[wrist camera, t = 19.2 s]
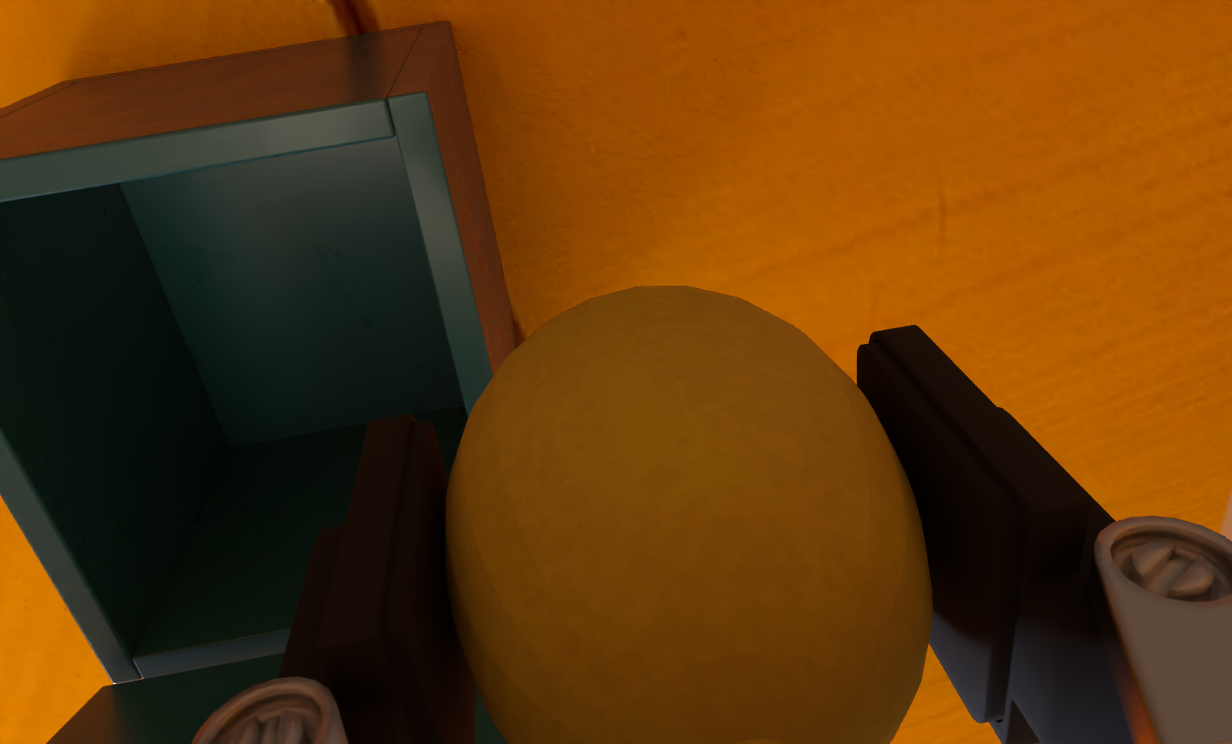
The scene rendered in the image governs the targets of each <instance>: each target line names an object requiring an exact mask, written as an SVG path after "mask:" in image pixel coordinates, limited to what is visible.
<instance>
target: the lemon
mask: <svg viewBox="0 0 1232 744" xmlns="http://www.w3.org/2000/svg"><path fill="white" fill-rule="evenodd" d="M445 573H446V582H447V591H448V597H449V602H450V606H451V611H452V616H453V619H454V623H455V626H456V630H457V633H458V637H459V640H460V643H461V646H462V649H463V651H464V654H465V657H466V660H467V663H468V666H469V669H470V672H471V674H472V677H473V680H474V683H475V685H476V688H477V690H478V693H479V696H480V698H481V701H482V703H483V706H484V707H485V709H486V711H487V713H488V714H489V716H490V718H491V720H492V721H493V723H494V725H495V727H496V728H497V730H498V731H499V732H500V733H501V735H502V736H503V737H504V739H505V740H506V741H507V742H508V744H889V743H890V742H891V741H892V739H893V738H894V736H895V734H896V732H897V730H898V728H899V726H900V724H901V723H902V721H903V719H904V717H905V715H906V713H907V711H908V709H909V707H910V705H911V703H912V701H913V699H914V696H915V694H916V692H917V690H918V687H919V685H920V683H921V679H922V674H923V668H924V663H925V658H926V653H927V648H928V643H929V637H930V631H931V626H932V620H933V597H932V585H931V578H930V572H929V565H928V558H927V552H926V545H925V540H924V534H923V528H922V522H921V518H920V515H919V511H918V507H917V504H916V500H915V496H914V494H913V491H912V488H911V485H910V483H909V480H908V477H907V475H906V472H905V470H904V468H903V466H902V464H901V462H900V460H899V457H898V455H897V453H896V451H895V450H894V448H893V446H892V444H891V442H890V440H889V438H888V436H887V434H886V432H885V430H884V428H883V426H882V425H881V423H880V421H879V419H878V417H877V415H876V413H875V411H874V410H873V408H872V407H871V405H870V403H869V402H868V400H867V398H866V397H865V395H864V394H863V393H862V391H861V390H860V389H859V388H858V386H857V385H856V384H855V383H854V381H853V380H852V379H851V378H850V377H849V376H848V375H847V374H846V373H845V372H844V371H843V370H842V369H841V368H840V367H838V366H837V365H836V364H835V363H834V362H833V361H832V360H831V359H830V358H829V357H828V356H827V355H826V354H825V353H824V352H823V351H822V350H821V349H820V348H819V347H818V346H817V345H816V344H815V343H814V342H813V341H812V340H811V339H810V338H809V337H808V336H807V335H806V334H804V333H803V332H801V331H800V330H799V329H797V328H796V327H794V326H793V325H791V324H789V323H787V322H786V321H784V320H782V319H780V318H778V317H776V316H774V315H772V314H770V313H768V312H766V311H764V310H762V309H761V308H759V307H757V306H755V305H753V304H751V303H749V302H747V301H745V300H743V299H740V298H738V297H734V296H729V295H725V294H720V293H716V292H712V291H707V290H703V289H698V288H694V287H689V286H647V287H633V288H630V289H626V290H622V291H618V292H614V293H610V294H606V295H603V296H599V297H595V298H591V299H589V300H587V301H585V302H583V303H581V304H579V305H577V306H575V307H574V308H572V309H570V310H568V311H566V312H564V313H562V314H560V315H558V316H556V317H554V318H552V319H551V320H549V321H547V322H546V323H545V324H544V325H542V326H541V327H540V328H539V329H538V330H537V331H536V332H534V333H533V334H532V335H531V336H530V337H529V338H528V339H526V340H525V341H524V342H523V343H522V344H521V345H520V346H518V347H517V348H516V349H515V350H514V351H513V352H512V353H510V354H509V355H508V356H507V357H506V358H505V360H504V361H503V363H502V364H501V366H500V367H499V369H498V370H497V372H496V373H495V375H494V376H493V378H492V379H491V381H490V382H489V384H488V385H487V387H486V388H485V390H484V391H483V393H482V394H481V396H480V397H479V399H478V400H477V402H476V403H475V405H474V406H473V408H472V411H471V413H470V415H469V418H468V420H467V423H466V426H465V429H464V432H463V435H462V438H461V442H460V445H459V448H458V451H457V454H456V457H455V460H454V463H453V466H452V470H451V474H450V478H449V482H448V487H447V495H446V512H445Z"/></svg>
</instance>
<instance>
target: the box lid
mask: <svg viewBox="0 0 1232 744" xmlns="http://www.w3.org/2000/svg"><path fill="white" fill-rule="evenodd" d="M284 653H285V652H284ZM284 653H279V654H273V655H268V656H263V657H257V658H252V659H247V660H241V661H236V662H231V663H226V664H220V665H215V666H210V667H204V668H199V669H194V670H188V671H183V672H178V673H173V674H167V675H162V676H157V677H151V678H146V679H141V680H135V681H130V682H125V683H119V684H114V685H109V686H104V687H102V688H101V689H100V690H99V691H98V692H97V693H96V694H95V695H94V696H93V697H92V698H91V699H90V700H89V701H88V702H87V703H86V704H85V705H84V706H83V707H82V708H81V709H80V710H79V711H78V712H77V713H76V714H75V715H74V716H73V717H72V718H71V719H70V720H69V721H68V722H67V723H66V724H65V725H64V726H63V727H62V728H61V729H60V730H59V731H58V732H57V733H56V734H55V735H54V736H53V737H52V738H51V739H50V740H49V741H48V742H47V743H46V744H191V743H192V741H193V739H194V737H195V735H196V733H197V732H198V730H199V729H200V728H201V727H202V726H203V724H204V723H205V722H206V721H207V720H208V718H209V717H210V716H211V715H212V714H213V713H214V712H215V711H216V710H217V709H219V708H220V707H221V706H222V705H224V704H225V703H226V702H227V701H229V700H230V699H231V698H232V697H234V696H236V695H238V694H239V693H241V692H243V691H245V690H247V689H249V688H250V687H252V686H254V685H257V684H260V683H263V682H267V681H270V680H273V679H276V678H278V675H279V671H280V668H281V664H282V660H283V657H284ZM475 744H508V742H507V741H506V740H505V739H504V737H503V736H502V735H501V733H500V732H499V731H498V730H497V728H496V727H495V725H494V723H493V721H492V720H491V718H490V716H489V714H488V713H487V711H486V709H485V707H484V706H483V703H482V701H481V698H480V696H479V693H478V690H477V688H476V723H475Z"/></svg>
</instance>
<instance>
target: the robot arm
mask: <svg viewBox="0 0 1232 744" xmlns="http://www.w3.org/2000/svg"><path fill="white" fill-rule="evenodd" d="M857 386H858V388H859V389H860V390H861V391H862V393H863V394H864V395H865V397H866V398H867V400H868V402H869V403H870V405H871V407H872V408H873V410H874V411H875V413H876V415H877V417H878V419H879V421H880V423H881V425H882V426H883V428H884V430H885V432H886V434H887V436H888V438H889V440H890V442H891V444H892V446H893V448H894V450H895V451H896V453H897V455H898V457H899V460H900V462H901V464H902V466H903V468H904V470H905V472H906V475H907V477H908V480H909V483H910V485H911V488H912V491H913V494H914V496H915V500H916V504H917V507H918V511H919V515H920V518H921V522H922V528H923V534H924V540H925V545H926V552H927V558H928V565H929V572H930V578H931V585H932V597H933V620H932V626H931V631H930V637H929V644H930V646H931V647H932V649H933V651H934V653H935V654H936V656H937V658H938V660H939V661H940V663H941V665H942V666H943V668H944V670H945V672H946V673H947V675H948V677H949V679H950V680H951V682H952V684H953V685H954V687H955V689H956V691H957V692H958V694H959V696H960V698H961V699H962V701H963V703H964V704H965V706H966V708H967V710H968V711H969V713H970V715H971V716H972V717H973V719H974V720H975V721H976V722H978V723H985V722H989V723H990V724H991V726H992V728H993V729H994V731H995V733H996V734H997V736H998V738H999V740H1000V741H1001V743H1002V744H1036V743H1041V744H1232V541H1230V540H1229V539H1227V538H1226V537H1225V536H1223V535H1220V534H1218V533H1216V532H1214V531H1212V530H1210V529H1208V528H1206V527H1203V526H1201V525H1197V524H1194V523H1190V522H1187V521H1183V520H1180V519H1175V518H1167V517H1158V516H1142V517H1130V518H1126V519H1123V520H1120V521H1115V520H1114V519H1113V518H1112V517H1111V516H1110V515H1109V514H1108V513H1107V512H1106V511H1105V510H1104V509H1103V508H1102V507H1101V506H1100V505H1099V504H1098V503H1097V502H1096V501H1095V500H1094V499H1093V498H1092V497H1091V496H1090V495H1089V494H1088V493H1087V492H1086V491H1085V490H1084V489H1083V488H1082V487H1081V486H1080V485H1079V484H1078V483H1077V482H1076V481H1075V480H1074V479H1073V478H1072V477H1071V476H1070V474H1069V473H1068V472H1067V471H1066V470H1065V469H1064V468H1063V467H1062V466H1061V465H1060V464H1059V463H1058V462H1057V461H1056V460H1055V459H1054V458H1053V457H1052V456H1051V455H1050V454H1049V453H1048V452H1047V451H1046V450H1045V449H1044V448H1043V447H1042V446H1041V445H1040V444H1039V443H1038V442H1037V441H1036V440H1035V439H1034V438H1033V437H1032V436H1031V435H1030V434H1029V433H1028V432H1027V431H1026V430H1025V429H1024V428H1023V427H1022V426H1021V425H1020V424H1019V423H1018V422H1017V421H1016V420H1015V419H1014V418H1013V417H1012V416H1011V415H1010V414H1009V413H1008V412H1007V411H1005V410H1004V409H1003V408H1000V407H996V406H995V405H994V404H993V403H992V402H991V401H990V399H989V398H988V397H987V396H986V395H985V394H984V393H983V392H982V391H981V390H980V389H979V388H978V387H977V386H976V385H975V384H974V383H973V382H972V381H971V380H970V379H969V378H968V377H967V376H966V375H965V374H964V373H963V372H962V371H961V370H960V369H959V368H958V367H957V366H956V365H955V364H954V363H953V361H952V360H951V359H950V358H949V357H948V356H947V355H946V354H945V353H944V352H943V351H942V350H941V349H940V348H939V347H938V346H937V345H936V344H935V343H934V342H933V341H932V340H931V339H930V338H929V337H928V336H927V335H926V334H925V333H924V332H923V331H922V330H921V329H920V328H919V327H918V326H916V325H910V326H904V327H899V328H893V329H887V330H882V331H876V332H873V333H872V334H871V336H870V339H869V344H863V345H860V346H859V348H858V351H857ZM447 487H448V478H447V475H446V471H445V467H444V464H443V460H442V457H441V453H440V450H439V446H438V442H437V439H436V435H435V432H434V429H433V426H432V424H431V422H430V421H429V422H424V423H417V420H416V418H415V416H414V415H413V414H407V415H401V416H396V417H390V418H384V419H379V420H373V421H370V422H369V424H368V427H367V431H366V436H365V440H364V444H363V448H362V453H361V457H360V461H359V466H358V470H357V474H356V479H355V483H354V487H353V491H352V496H351V500H350V504H349V509H348V513H347V517H346V522H345V525H340V526H334V527H329V528H323V529H322V530H321V531H319V533H318V535H317V537H316V540H315V543H314V547H313V550H312V554H311V558H310V561H309V565H308V569H307V572H306V576H305V580H304V583H303V587H302V591H301V594H300V598H299V602H298V605H297V609H296V613H295V616H294V620H293V624H292V627H291V631H290V635H289V638H288V642H287V646H286V649H285V653H284V657H283V660H282V664H281V668H280V671H279V675H278V678H276V679H273V680H270V681H267V682H263V683H260V684H257V685H254V686H252V687H250V688H249V689H247V690H245V691H243V692H241V693H239V694H238V695H236V696H234V697H232V698H231V699H230V700H229V701H227V702H226V703H225V704H224V705H222V706H221V707H220V708H219V709H217V710H216V711H215V712H214V713H213V714H212V715H211V716H210V717H209V718H208V720H207V721H206V722H205V723H204V724H203V726H202V727H201V728H200V729H199V730H198V732H197V733H196V735H195V737H194V739H193V741H192V743H191V744H475V723H476V685H475V683H474V680H473V677H472V674H471V672H470V669H469V666H468V663H467V660H466V657H465V654H464V651H463V649H462V646H461V643H460V640H459V637H458V633H457V630H456V626H455V623H454V619H453V616H452V611H451V606H450V602H449V597H448V591H447V582H446V573H445V512H446V495H447Z"/></svg>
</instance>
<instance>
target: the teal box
mask: <svg viewBox="0 0 1232 744" xmlns="http://www.w3.org/2000/svg"><path fill="white" fill-rule="evenodd" d="M518 346H519V345H518V340H517V335H516V330H515V326H514V321H513V316H512V312H511V307H510V302H509V297H508V293H507V288H506V283H505V279H504V274H503V269H502V264H501V260H500V255H499V250H498V245H497V241H496V236H495V231H494V227H493V222H492V217H491V212H490V208H489V203H488V198H487V194H486V189H485V184H484V179H483V175H482V170H481V165H480V160H479V156H478V151H477V146H476V142H475V137H474V132H473V127H472V123H471V118H470V113H469V109H468V104H467V99H466V94H465V90H464V85H463V80H462V75H461V71H460V66H459V61H458V57H457V52H456V47H455V42H454V38H453V33H452V28H451V24H450V21H448V20H447V21H441V22H435V23H428V24H422V25H416V26H410V27H403V28H397V29H391V30H384V31H378V32H372V33H365V34H359V35H353V36H347V37H340V38H334V39H328V40H321V41H315V42H309V43H302V44H296V45H290V46H284V47H277V48H271V49H265V50H258V51H252V52H246V53H239V54H233V55H227V56H221V57H214V58H208V59H202V60H195V61H189V62H183V63H176V64H170V65H164V66H158V67H151V68H145V69H139V70H132V71H126V72H120V73H113V74H107V75H101V76H95V77H88V78H82V79H76V80H69V81H63V82H60V83H57V84H55V85H53V86H51V87H49V88H47V89H45V90H42V91H40V92H38V93H36V94H33V95H31V96H29V97H27V98H24V99H22V100H20V101H18V102H15V103H13V104H11V105H9V106H6V107H4V108H2V109H0V495H1V497H2V499H3V500H4V502H5V504H6V505H7V507H8V509H9V510H10V512H11V514H12V515H13V517H14V519H15V520H16V522H17V524H18V525H19V527H20V529H21V530H22V532H23V534H24V535H25V537H26V539H27V541H28V542H29V544H30V546H31V547H32V549H33V551H34V552H35V554H36V556H37V557H38V559H39V561H40V562H41V564H42V566H43V567H44V569H45V571H46V572H47V574H48V576H49V577H50V579H51V581H52V582H53V584H54V586H55V587H56V589H57V591H58V592H59V594H60V596H61V597H62V599H63V601H64V602H65V604H66V606H67V608H68V609H69V611H70V613H71V614H72V616H73V618H74V619H75V621H76V623H77V624H78V626H79V628H80V629H81V631H82V633H83V634H84V636H85V638H86V639H87V641H88V643H89V644H90V646H91V648H92V649H93V651H94V653H95V654H96V656H97V658H98V659H99V661H100V663H101V664H102V666H103V668H104V669H105V671H106V673H107V674H108V676H109V678H110V680H111V681H112V683H114V684H118V683H124V682H129V681H134V680H139V679H141V678H143V679H146V678H151V677H157V676H162V675H167V674H173V673H178V672H183V671H188V670H194V669H199V668H204V667H210V666H215V665H220V664H226V663H231V662H236V661H241V660H247V659H252V658H257V657H263V656H268V655H273V654H279V653H284V652H285V649H286V646H287V642H288V638H289V635H290V631H291V627H292V624H293V620H294V616H295V613H296V609H297V605H298V602H299V598H300V594H301V591H302V587H303V583H304V580H305V576H306V572H307V569H308V565H309V561H310V558H311V554H312V550H313V547H314V543H315V540H316V537H317V535H318V533H319V531H321V530H322V529H323V528H329V527H334V526H340V525H345V522H346V517H347V513H348V509H349V504H350V500H351V496H352V491H353V487H354V483H355V479H356V474H357V470H358V466H359V461H360V457H361V453H362V448H363V444H364V440H365V436H366V431H367V427H368V424H369V422H370V421H373V420H379V419H384V418H390V417H396V416H401V415H407V414H413V415H414V416H415V418H416V420H417V423H424V422H429V421H430V422H431V424H432V426H433V429H434V432H435V435H436V439H437V442H438V446H439V450H440V453H441V457H442V460H443V464H444V467H445V471H446V475H447V478H448V482H449V478H450V474H451V470H452V466H453V463H454V460H455V457H456V454H457V451H458V448H459V445H460V442H461V438H462V435H463V432H464V429H465V426H466V423H467V420H468V418H469V415H470V413H471V411H472V408H473V406H474V405H475V403H476V402H477V400H478V399H479V397H480V396H481V394H482V393H483V391H484V390H485V388H486V387H487V385H488V384H489V382H490V381H491V379H492V378H493V376H494V375H495V373H496V372H497V370H498V369H499V367H500V366H501V364H502V363H503V361H504V360H505V358H506V357H507V356H508V355H509V354H510V353H512V352H513V351H514V350H515V349H516V348H517V347H518Z"/></svg>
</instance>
